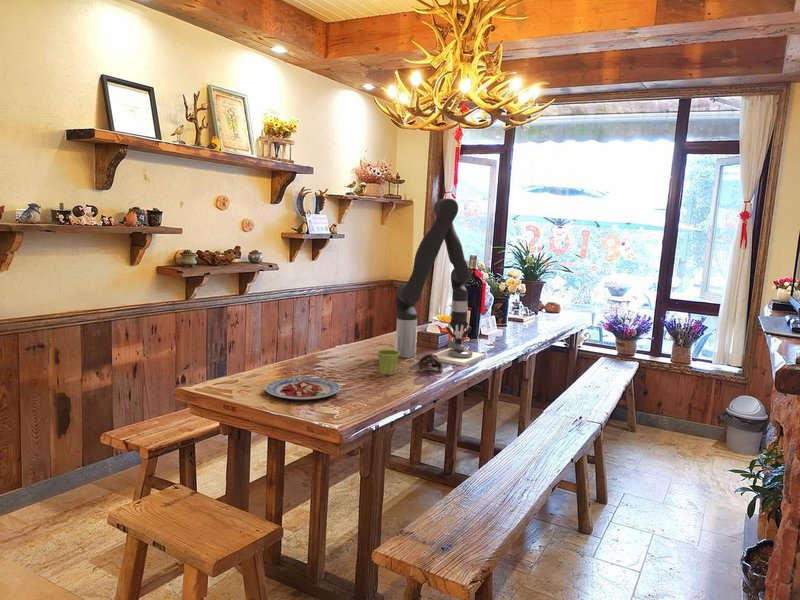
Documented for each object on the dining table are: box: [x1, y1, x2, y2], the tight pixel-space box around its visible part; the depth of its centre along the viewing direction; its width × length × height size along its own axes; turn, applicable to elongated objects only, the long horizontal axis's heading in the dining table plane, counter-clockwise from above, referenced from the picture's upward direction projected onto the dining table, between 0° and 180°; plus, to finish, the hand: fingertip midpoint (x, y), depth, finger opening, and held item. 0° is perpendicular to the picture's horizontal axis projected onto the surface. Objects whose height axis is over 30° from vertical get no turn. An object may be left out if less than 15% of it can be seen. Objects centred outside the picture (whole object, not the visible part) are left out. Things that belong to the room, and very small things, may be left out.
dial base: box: [427, 347, 486, 367], centre depth 267 cm, size 22×18×4 cm
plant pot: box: [376, 349, 400, 376], centre depth 236 cm, size 9×9×9 cm
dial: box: [447, 339, 474, 358], centre depth 270 cm, size 18×11×4 cm, turn 19°
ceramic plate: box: [264, 376, 341, 401], centre depth 206 cm, size 26×26×3 cm
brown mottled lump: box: [417, 353, 444, 374], centre depth 243 cm, size 12×10×8 cm
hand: (457, 346), depth 276 cm, fingers closed
